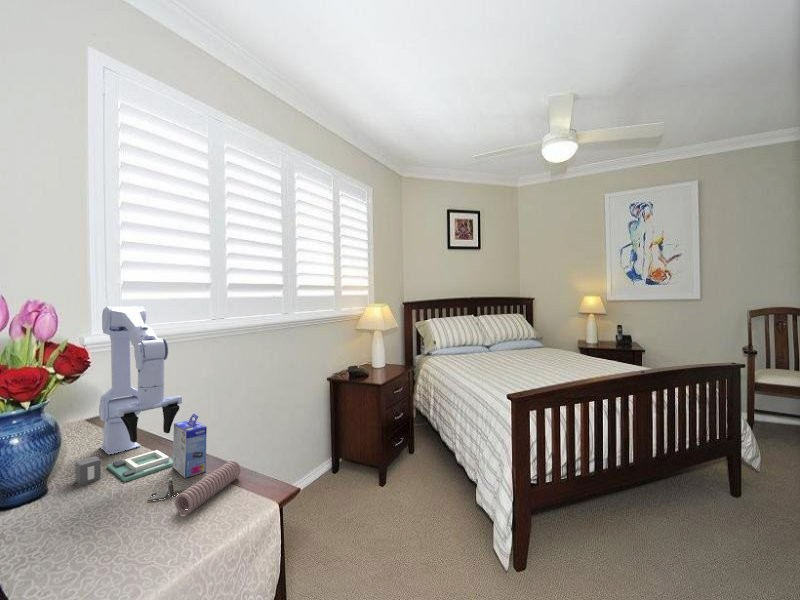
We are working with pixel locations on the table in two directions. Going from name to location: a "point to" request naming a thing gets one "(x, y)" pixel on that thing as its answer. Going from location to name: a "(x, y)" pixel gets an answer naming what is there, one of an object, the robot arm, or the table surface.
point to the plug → (87, 470)
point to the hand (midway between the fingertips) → (150, 436)
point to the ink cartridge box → (189, 447)
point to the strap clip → (166, 492)
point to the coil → (207, 487)
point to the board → (140, 465)
